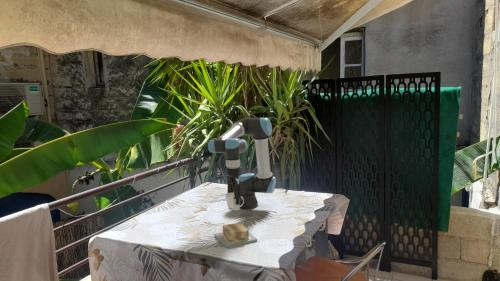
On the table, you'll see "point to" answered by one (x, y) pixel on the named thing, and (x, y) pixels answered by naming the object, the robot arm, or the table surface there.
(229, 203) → the cup
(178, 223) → the table surface
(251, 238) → the build board
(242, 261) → the table surface
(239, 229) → the oak block
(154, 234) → the table surface
